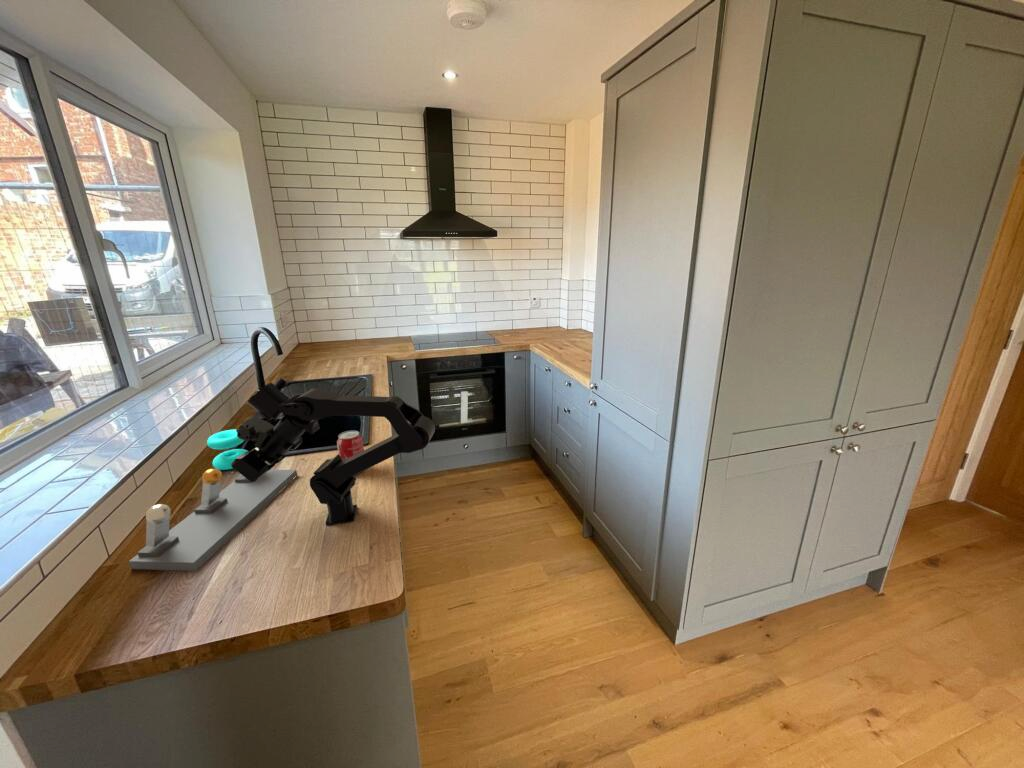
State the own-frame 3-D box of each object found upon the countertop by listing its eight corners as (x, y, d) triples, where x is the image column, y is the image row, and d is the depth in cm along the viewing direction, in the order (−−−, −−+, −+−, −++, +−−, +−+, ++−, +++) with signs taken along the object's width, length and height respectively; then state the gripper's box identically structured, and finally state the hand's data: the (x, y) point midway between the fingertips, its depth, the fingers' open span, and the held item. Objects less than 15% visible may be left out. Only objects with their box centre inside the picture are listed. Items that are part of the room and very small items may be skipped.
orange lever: (224, 498, 104) (226, 468, 101) (212, 507, 100) (214, 476, 97) (208, 493, 103) (210, 463, 101) (196, 502, 100) (198, 471, 97)
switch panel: (297, 475, 120) (295, 466, 119) (196, 570, 84) (192, 558, 83) (251, 475, 121) (249, 466, 120) (131, 569, 85) (127, 557, 84)
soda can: (340, 468, 124) (335, 432, 121) (365, 463, 127) (360, 427, 123) (342, 479, 118) (336, 441, 114) (367, 473, 121) (362, 436, 117)
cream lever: (174, 536, 89) (176, 503, 87) (158, 549, 86) (160, 514, 83) (156, 531, 89) (157, 497, 86) (139, 544, 85) (140, 509, 83)
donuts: (197, 439, 122) (227, 426, 131) (205, 469, 125) (234, 454, 134) (224, 442, 120) (252, 429, 129) (231, 473, 123) (259, 457, 132)
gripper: (282, 395, 102) (249, 435, 106) (230, 424, 85) (192, 471, 88) (318, 424, 104) (284, 462, 108) (274, 459, 86) (235, 503, 90)
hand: (251, 473), depth 99 cm, fingers closed
